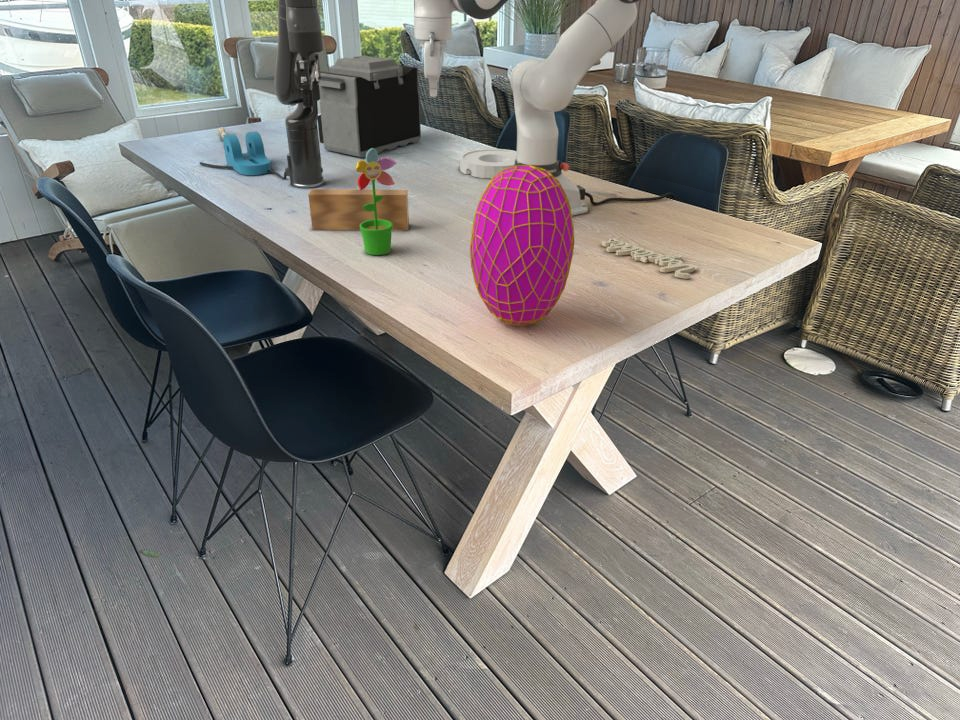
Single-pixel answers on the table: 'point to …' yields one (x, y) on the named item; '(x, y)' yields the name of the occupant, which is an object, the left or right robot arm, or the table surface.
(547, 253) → the decorative egg
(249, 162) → the camera mount
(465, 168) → the ashtray
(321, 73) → the electronic device
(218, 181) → the table surface
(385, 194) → the bar
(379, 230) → the potted flower
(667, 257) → the decorative sign
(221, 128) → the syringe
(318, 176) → the left robot arm
